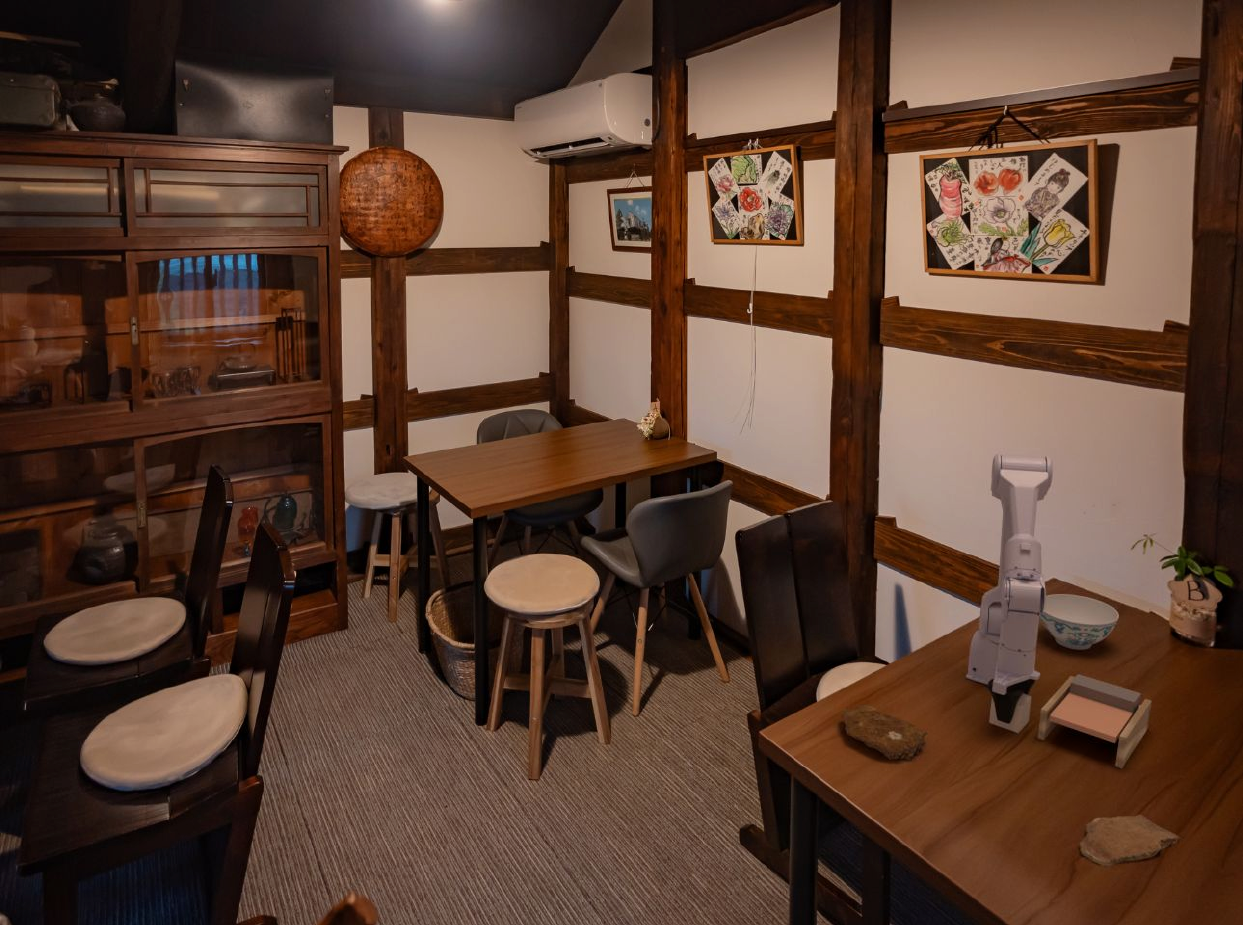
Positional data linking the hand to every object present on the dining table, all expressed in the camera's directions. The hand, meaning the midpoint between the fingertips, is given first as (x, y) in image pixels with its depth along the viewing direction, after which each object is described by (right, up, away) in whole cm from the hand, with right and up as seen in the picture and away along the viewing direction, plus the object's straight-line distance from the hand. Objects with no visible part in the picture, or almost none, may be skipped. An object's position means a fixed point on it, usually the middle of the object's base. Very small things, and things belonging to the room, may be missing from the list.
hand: (1009, 714), depth 153 cm
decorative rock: (-24, -3, -4) cm, 25 cm away
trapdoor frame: (+13, -2, -4) cm, 13 cm away
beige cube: (0, -1, 0) cm, 2 cm away
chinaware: (+26, +6, +29) cm, 40 cm away
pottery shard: (+3, -10, -30) cm, 32 cm away
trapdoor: (+12, +2, -5) cm, 13 cm away
